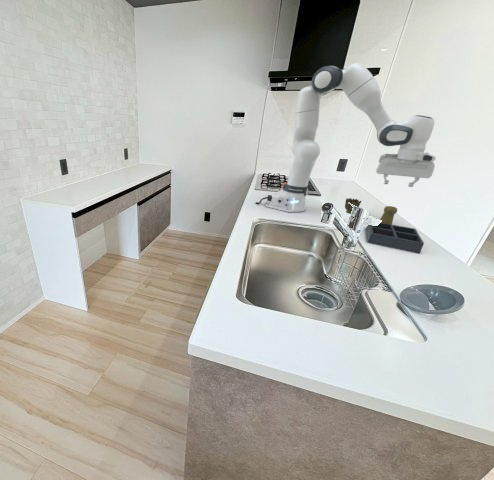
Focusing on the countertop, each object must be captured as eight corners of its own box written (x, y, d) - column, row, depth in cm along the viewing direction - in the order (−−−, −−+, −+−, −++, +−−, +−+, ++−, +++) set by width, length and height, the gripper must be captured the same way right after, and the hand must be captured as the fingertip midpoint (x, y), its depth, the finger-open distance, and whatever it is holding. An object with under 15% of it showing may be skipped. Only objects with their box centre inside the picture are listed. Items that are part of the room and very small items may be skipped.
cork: (393, 230, 129) (402, 209, 124) (379, 229, 130) (388, 208, 125) (387, 225, 134) (395, 205, 129) (374, 224, 135) (381, 204, 130)
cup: (359, 215, 147) (364, 202, 143) (346, 215, 147) (351, 201, 143) (351, 211, 154) (356, 198, 150) (339, 210, 154) (343, 197, 150)
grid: (367, 242, 115) (371, 233, 113) (365, 229, 129) (368, 220, 127) (419, 253, 107) (424, 243, 105) (411, 237, 121) (415, 228, 119)
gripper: (382, 154, 119) (371, 183, 126) (440, 157, 110) (426, 189, 116) (380, 152, 124) (371, 181, 130) (437, 156, 115) (423, 186, 121)
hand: (397, 185), depth 123 cm, fingers open, 8 cm apart
